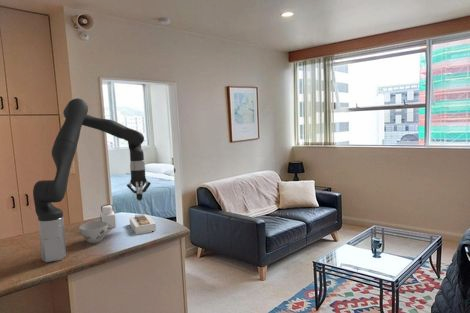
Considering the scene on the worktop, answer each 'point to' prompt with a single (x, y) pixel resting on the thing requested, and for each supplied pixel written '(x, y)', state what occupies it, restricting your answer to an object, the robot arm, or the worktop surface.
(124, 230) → the worktop surface
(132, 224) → the key panel
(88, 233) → the teacup
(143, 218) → the tile two
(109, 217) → the medicine bottle
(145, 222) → the tile one
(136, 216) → the tile three
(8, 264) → the worktop surface
